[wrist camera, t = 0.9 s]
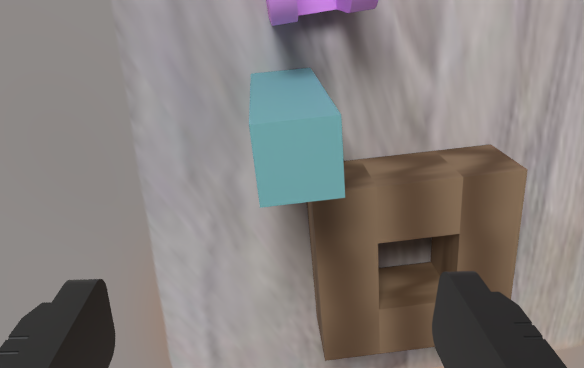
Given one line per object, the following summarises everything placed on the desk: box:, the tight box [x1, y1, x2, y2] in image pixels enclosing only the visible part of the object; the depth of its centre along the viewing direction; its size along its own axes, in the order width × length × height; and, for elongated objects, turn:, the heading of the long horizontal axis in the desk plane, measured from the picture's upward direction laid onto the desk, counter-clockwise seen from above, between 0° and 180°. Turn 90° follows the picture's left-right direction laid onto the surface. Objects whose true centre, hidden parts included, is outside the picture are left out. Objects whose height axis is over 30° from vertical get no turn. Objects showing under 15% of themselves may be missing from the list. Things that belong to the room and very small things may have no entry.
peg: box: [249, 68, 345, 208], centre depth 26 cm, size 4×4×12 cm
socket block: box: [307, 145, 527, 361], centre depth 34 cm, size 14×14×5 cm
